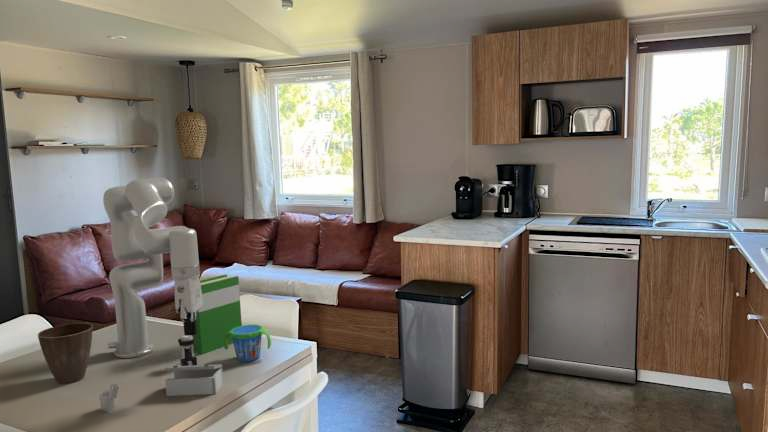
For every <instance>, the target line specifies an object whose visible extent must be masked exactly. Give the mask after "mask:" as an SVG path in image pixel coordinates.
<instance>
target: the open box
mask: <svg viewBox="0 0 768 432" xmlns="http://www.w3.org/2000/svg"><path fill="white" fill-rule="evenodd" d="M223 372H224V371H223V366H222V367H220V368H216V369H202V370H178V371H173V376H174V378H166V379H165V382H164V383H165V393H166V397H174V396H175V397H176V396H196V395H197V396H199V395H200V396H201V395H216V394H217V393H218V392H219V390H220V389H221V388H222V386H223V384H224V377H223V376H224V375H223V374H224V373H223Z"/></svg>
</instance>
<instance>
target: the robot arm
mask: <svg viewBox="0 0 768 432" xmlns="http://www.w3.org/2000/svg"><path fill="white" fill-rule="evenodd" d="M174 197H175V189H174V185H173V183H172V182H171V181H170V180H169V179H167V178H164V177H151V178H150V177H149V178H148V177H147V178H137V179H133V180H131V181H129V182H128V183H127V184H126V185H121V186H113V187H109V188H108V189H106V190H105V191H104V193H103V197H102V201H103V202H102V203H103V207H104V210H105V212H106V214H107V217H108V220H109V225H110V237H111V249H112V254H113V258H114V259H115V260H116V261H119V262H128V261H135V260H141V259H146V260H145V261H139V262H131V263H124V264H119V265H116V266H115V267H113V268H112V269H111V270H110V272H109V276H108V277H109V283H110V286H111V289H112V290H111V291H112V293H113V294H112V295H113V300H114V308H115V319H116V329H117V331H116V332H117V341H115V340H112V341H111V340H110V341H108V343H107V347H108V349H115V351H114V356H115V357H117V358H119V359H130V358H131V359H132V358H137V357H141V356H145V355H147V354H150V353H151V352H152V351H154V344H152V343H149V335H148V326H147V325H148V324H147V312H146V311H147V310H146V303H145V300H144V298H143V297H142V296H141V295H140V294H139V293H137V291H139V290H143V289H148V288H154V287H157V286H160V285H161V284H162V283H163V281H164V260H163V254H169V256H170V267H171V279H172V280H174V306H175V311H176V314H178V315H180V320H182V323H183V333H184V334H183V335H185V336H188V335H195V334H196V333H197V323H196V311H197V310H198V309H199V308H200V307H201V306H202V305H203V298H202V291H201V284H200V279H201V278H200V276H201V272H200V270H201V269H200V260H199V259H200V258H199V249H198V248H199V246H198V236H197V231H196V230H195V229H193V228H189V227H187V226H185V225H175V226H174V225H173V226H165V227H158V228H151V227H154V226H155V225H157V224H158V223H160V222H162V221H163V220H164V219H165V217H166V216H167V214H168V206H167V205H168V204H170V203H171V202H172V201H173V200H174ZM132 211H133V212H136V214H137V216H136V215H135V214H134V213H133V212H132Z"/></svg>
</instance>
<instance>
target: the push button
mask: <svg viewBox="0 0 768 432" xmlns="http://www.w3.org/2000/svg"><path fill="white" fill-rule="evenodd" d="M177 342H178V344H179V346H180V347H181V358H180V360H179V361H180V362H179V363H176V364H175V366H176V365H178V366H193V365H198V358H197V356H195V354H194V353H195V352H193V344H194V343H195V337H192V335H188V336H185V335H184V334H183V335H181V336H180V338H179V339H177Z"/></svg>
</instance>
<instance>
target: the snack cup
mask: <svg viewBox="0 0 768 432" xmlns="http://www.w3.org/2000/svg"><path fill="white" fill-rule="evenodd" d="M229 334H230V335H231V337H232V339H233V344H232V345H233V347H234V352H235V355H236V356H235V357H236V359H237V361H239V362H243V363H248V362H253V361H255V360H258V359H260V357H261V349H262V336H263V335H265V336H266V339H267V349H268V350H269V349H270V348H271V345H272V339H271V336H270V333H269V332H268V331H267V330H266V329H264V328H263V327H262V325H259V324H245V325H244V324H242V326H239V327H236V328H234V329H232V330H231V331H230V332H228V333H227V334H226V336H225V338H224V347H223V348H224V349H225V350H228V349H229V345H228V344H227V337H228V335H229ZM262 334H263V335H262Z"/></svg>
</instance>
